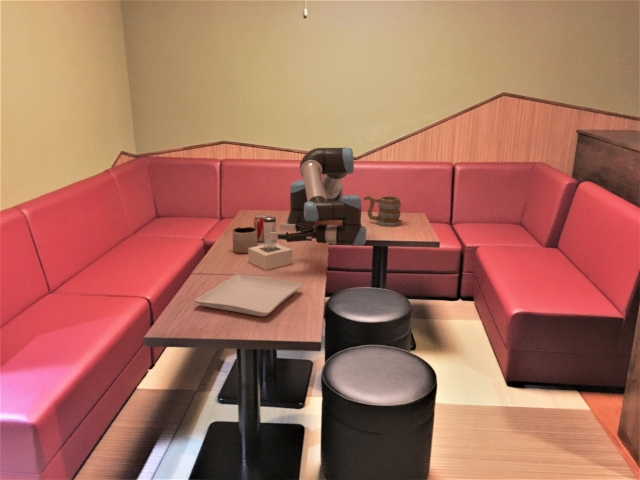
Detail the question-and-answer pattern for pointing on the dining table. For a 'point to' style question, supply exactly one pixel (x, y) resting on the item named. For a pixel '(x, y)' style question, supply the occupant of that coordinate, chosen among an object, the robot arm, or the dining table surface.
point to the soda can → (259, 227)
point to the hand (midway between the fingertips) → (275, 231)
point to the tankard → (386, 210)
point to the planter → (244, 239)
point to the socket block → (270, 257)
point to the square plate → (249, 294)
